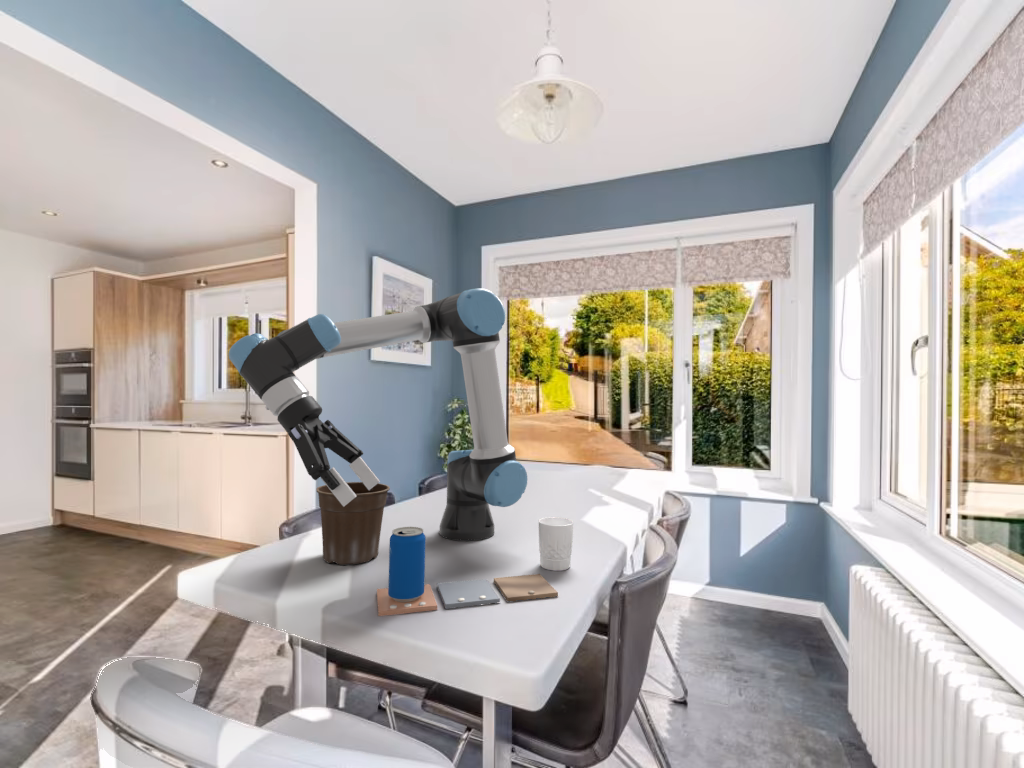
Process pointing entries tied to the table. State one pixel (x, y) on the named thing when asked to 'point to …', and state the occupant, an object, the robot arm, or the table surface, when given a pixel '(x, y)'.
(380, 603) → the three-dot tile
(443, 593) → the two-dot tile
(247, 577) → the table surface
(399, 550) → the beverage can
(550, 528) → the white cup
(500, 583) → the one-dot tile
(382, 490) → the plant pot
